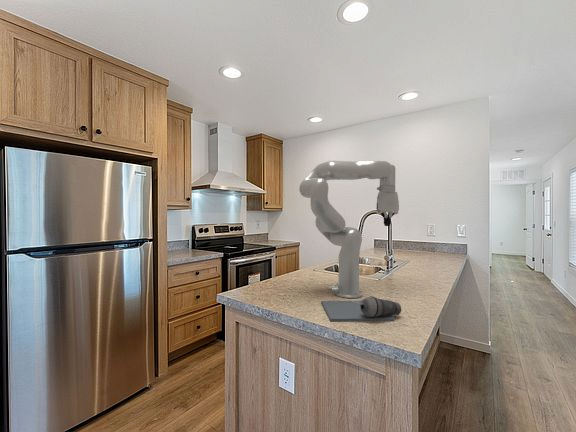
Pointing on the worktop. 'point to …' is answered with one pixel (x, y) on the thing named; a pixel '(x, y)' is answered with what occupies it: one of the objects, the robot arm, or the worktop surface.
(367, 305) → the beverage cup
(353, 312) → the rubber mat
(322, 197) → the robot arm
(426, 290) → the worktop surface
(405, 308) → the worktop surface
